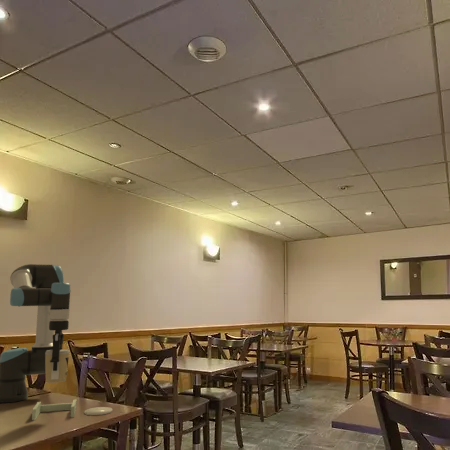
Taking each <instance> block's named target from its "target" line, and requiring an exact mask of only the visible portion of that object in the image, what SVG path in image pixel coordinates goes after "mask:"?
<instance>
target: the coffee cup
mask: <svg viewBox="0 0 450 450" xmlns="http://www.w3.org/2000/svg"><path fill="white" fill-rule="evenodd" d="M45 354H46V355H45V373H46V374H45V383H49V384H50V383H55V384H56V383H62V382H66V381H67V376H68V365H69V358H70V350H69V349H67V348H66V349H64V348H62V350H60V353H59V379H52V380H51V371H52V362H50V360H51V359H52V350H47V351H46V352H45Z"/></svg>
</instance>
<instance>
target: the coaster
mask: <svg viewBox="0 0 450 450" xmlns="http://www.w3.org/2000/svg"><path fill="white" fill-rule="evenodd" d="M111 413H113V408H112V407H107V406H98V407H91V408H88V409H85V410H84V415H87V416H105V415H108V414H111Z"/></svg>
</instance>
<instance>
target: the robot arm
mask: <svg viewBox="0 0 450 450" xmlns="http://www.w3.org/2000/svg"><path fill="white" fill-rule="evenodd" d="M10 283H11V286H12V287H13V288H11V289H10V298H9V304H10V306H12V307H37V312H36V313H37V314H36V331H35V343H34V344H33V345H31V350H29V349H28V348H27V347H19V348H18V347H17V348H13V349H11V348H10V349H8V350H5V351H2V352H1V354H0V404H2V403H4V404H5V403H16V402H20V401H26V400H27V399H28V398H29V392H28V388H27V383H26V376H34V375H46V373H45V355H46V354H45V352H46V351H47V350H52V359H51V360H50V362H52V371H51V380H52V379H59V353H60V350H62V349H63V344H64V337H65V336H64V335H65V334H64V333H63V331H67V330H68V329H69V324H70V323H69V319H70V303H71V302H70V301H71V292H72V291H71V284H70V283H69V282H64V273H63V268H62V267H61V266H60V265H58V264H32V263H31V264H30V263H29V264H24V265H21V266H19V267H17V268H16V269H14V270H13V271H12V273H11V275H10Z"/></svg>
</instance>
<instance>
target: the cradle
mask: <svg viewBox="0 0 450 450" xmlns="http://www.w3.org/2000/svg"><path fill="white" fill-rule="evenodd" d="M77 401H78V400H77V399H73V400H72V402H67V403H66V402H65V403H52V404H42V402H41V401H37V402H36V404H35V405H34V406H33V408H32V411H31V412H32V413H31V421H36V420H37V418H38V416H39V415H40V413H45V412H58V411H59V412H60V411H61V412H62V411H70V418H74V417H75V414H76V412H75V411H77Z"/></svg>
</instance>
